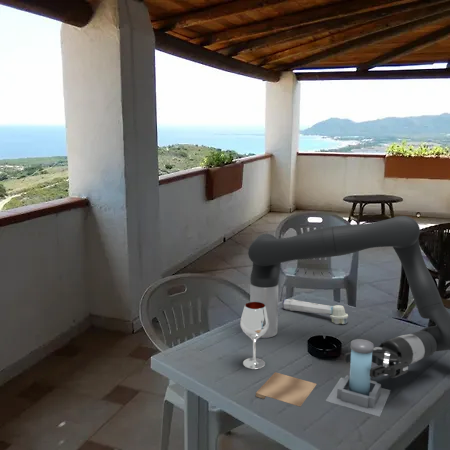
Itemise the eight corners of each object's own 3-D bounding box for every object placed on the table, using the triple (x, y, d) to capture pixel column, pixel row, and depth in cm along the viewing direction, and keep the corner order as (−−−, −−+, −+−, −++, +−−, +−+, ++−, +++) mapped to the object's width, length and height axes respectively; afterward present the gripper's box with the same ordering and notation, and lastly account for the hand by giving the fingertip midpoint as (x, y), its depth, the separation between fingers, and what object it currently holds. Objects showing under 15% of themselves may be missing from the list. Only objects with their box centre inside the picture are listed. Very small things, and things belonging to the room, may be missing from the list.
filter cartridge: (345, 397, 117) (348, 345, 114) (351, 387, 121) (354, 337, 118) (367, 403, 114) (370, 350, 111) (372, 393, 119) (375, 342, 116)
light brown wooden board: (255, 396, 119) (255, 392, 119) (275, 375, 129) (275, 372, 129) (300, 410, 113) (300, 406, 113) (316, 387, 123) (316, 383, 123)
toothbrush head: (287, 296, 180) (349, 302, 165) (289, 313, 181) (350, 320, 165) (280, 300, 176) (343, 306, 161) (282, 317, 177) (344, 325, 161)
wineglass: (271, 359, 138) (272, 302, 135) (264, 373, 131) (265, 312, 127) (244, 355, 141) (245, 298, 137) (236, 368, 133) (236, 308, 130)
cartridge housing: (325, 404, 115) (326, 391, 115) (340, 380, 127) (341, 368, 126) (379, 420, 109) (380, 406, 108) (390, 394, 120) (391, 381, 119)
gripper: (382, 327, 129) (338, 340, 121) (426, 348, 117) (381, 364, 109) (380, 353, 130) (336, 367, 122) (424, 375, 118) (379, 393, 110)
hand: (357, 365), depth 115 cm, fingers open, 8 cm apart
